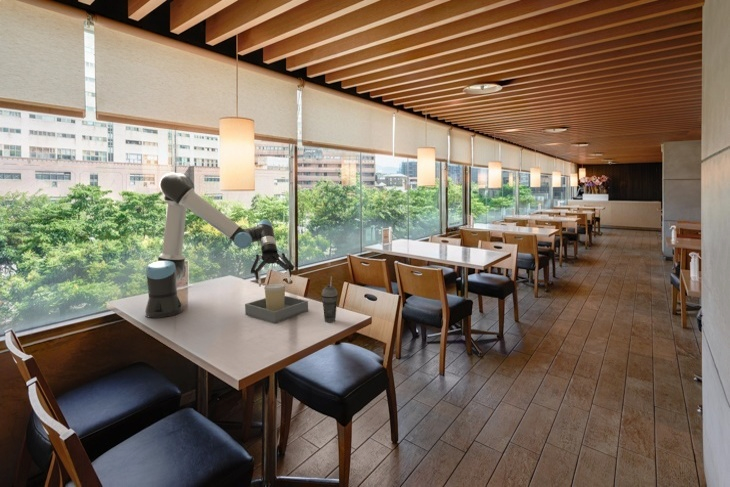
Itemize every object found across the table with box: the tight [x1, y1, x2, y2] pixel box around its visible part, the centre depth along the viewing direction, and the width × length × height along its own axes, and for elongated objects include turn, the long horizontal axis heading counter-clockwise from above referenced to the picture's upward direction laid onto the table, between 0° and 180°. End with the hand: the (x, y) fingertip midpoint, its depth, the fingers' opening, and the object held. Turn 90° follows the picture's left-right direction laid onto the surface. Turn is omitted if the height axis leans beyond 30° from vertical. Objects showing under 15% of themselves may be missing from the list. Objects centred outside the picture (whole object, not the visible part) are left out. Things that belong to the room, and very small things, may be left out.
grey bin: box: [244, 295, 309, 324], centre depth 173 cm, size 20×20×5 cm
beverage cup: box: [320, 275, 339, 324], centre depth 162 cm, size 7×7×20 cm
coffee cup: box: [263, 282, 286, 311], centre depth 173 cm, size 9×9×12 cm
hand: (275, 283), depth 175 cm, fingers open, 13 cm apart
